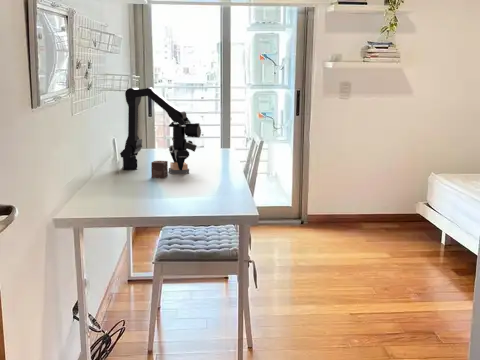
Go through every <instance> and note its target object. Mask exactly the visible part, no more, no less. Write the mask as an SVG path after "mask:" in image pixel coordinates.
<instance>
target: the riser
mask: <svg viewBox="0 0 480 360" xmlns="http://www.w3.org/2000/svg"><path fill="white" fill-rule="evenodd" d="M189 173H190V168H188V170H173V169H172V168H170V167H169V168H168V174H171V175H175V174H176V175H177V174H179V175H181V174H189Z"/></svg>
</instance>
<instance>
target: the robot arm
mask: <svg viewBox="0 0 480 360" xmlns="http://www.w3.org/2000/svg"><path fill="white" fill-rule="evenodd" d="M124 92H125V93H124V95H125V102H126V104H127V106H128V109H127V110H128V116H127V118H128V126H127V132H128V133H127V139H126V141H125V144H124V149H123V150H122V151H121V152H120V153H119V154H120V157H121V158H122V166H121V167H122V170H124V171H125V170H126V171H127V170H138V159H137V156H138V154H139V152H140V151H141V149H142V148H143V145H142V143H143V139H142V138H141V139H140V138H139V106H140V103H141V100H142V98H143V97H148V98H149V99H150V100H151V101H153V102H154V103H155V104H156V105H158V106H159V108H161V109H163V110H164V111H165V112H166V114H167V115H168V116H169V118H170V119H171V121H172V122H171V123H169V125H168V127H169V128H172V138H171V141H172V144H171V145H169V147H168V151H169V154H170V155H171V156H170V157H171V158H172V161H173V162H177V164H178V167H179V170H182V168H183V165H184V162H185V160H187V159H188V158H189V157H190V151H191V152H193V153H194V152H196V149H197V147H198V145H196V144H194V143H193V141H192V140H187V139H186V137H187V138H198V139H199V138H200V137H201V135H202V129H201V126H200V123H199V122H198V123H197V122H196V123H195V122H194V123H193V122H191V121H190V119H189V118H188V116H187V111H185V110H183V109H182V108H180V107H178V106H176V105H174V104H172V103H171V102H170V101H168V99H166V98H165V97H164V96H163V95H161V94H160V93H159V92H158V91H156V90H155V89H154V88H153V87H145V88H139V87H129V88H127V89H126V90H125V91H124ZM188 150H189V151H188Z"/></svg>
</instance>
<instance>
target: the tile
mask: <svg viewBox="0 0 480 360" xmlns="http://www.w3.org/2000/svg"><path fill="white" fill-rule="evenodd" d="M169 164H170V165H169V168H172V169H173V170H179V167H178V164H177V162H174V161H173V162H170V163H169ZM188 167H189V166H188V163H187V162H185V161H184V165H183V168H182V170H188V169H189V168H188Z"/></svg>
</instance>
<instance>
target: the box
mask: <svg viewBox="0 0 480 360" xmlns="http://www.w3.org/2000/svg"><path fill="white" fill-rule="evenodd" d="M168 163H169V162H168V160H153V161H152V162H151V163H150V164H151V178H152V179H166V178H167V177H168V176H169V168H168V167H169V166H168Z"/></svg>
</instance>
